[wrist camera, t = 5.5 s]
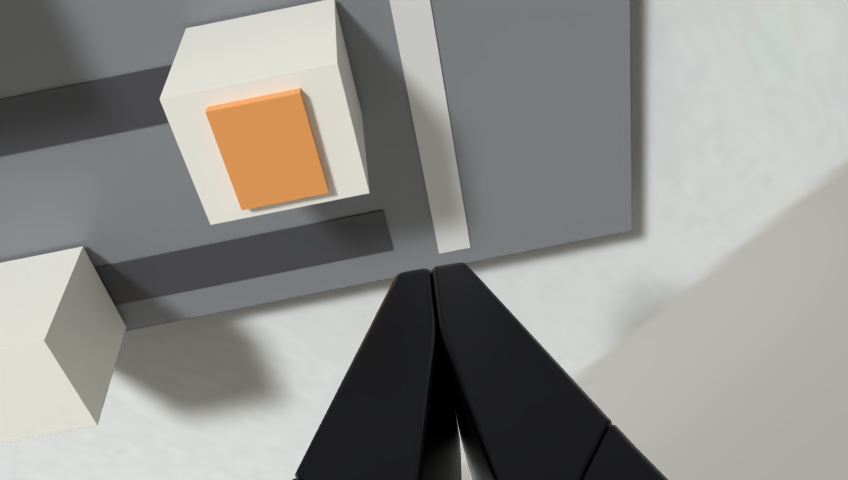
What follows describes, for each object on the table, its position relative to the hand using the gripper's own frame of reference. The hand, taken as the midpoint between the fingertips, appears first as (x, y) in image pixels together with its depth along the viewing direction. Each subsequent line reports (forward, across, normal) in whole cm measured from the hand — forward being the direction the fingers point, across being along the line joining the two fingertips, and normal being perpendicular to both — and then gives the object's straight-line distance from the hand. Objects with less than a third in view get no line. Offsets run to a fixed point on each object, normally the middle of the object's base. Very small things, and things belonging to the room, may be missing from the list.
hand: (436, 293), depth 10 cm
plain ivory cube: (+8, +10, +5) cm, 13 cm away
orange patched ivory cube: (+8, +3, 0) cm, 8 cm away
